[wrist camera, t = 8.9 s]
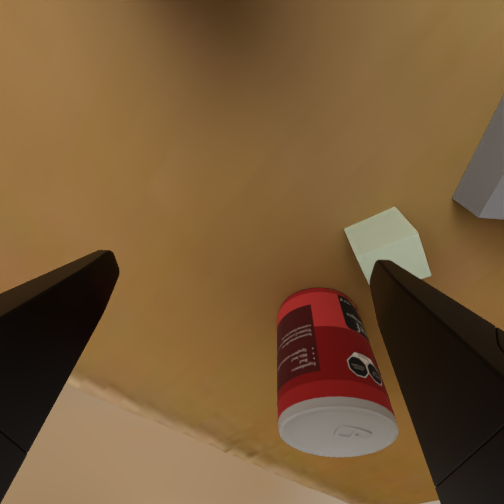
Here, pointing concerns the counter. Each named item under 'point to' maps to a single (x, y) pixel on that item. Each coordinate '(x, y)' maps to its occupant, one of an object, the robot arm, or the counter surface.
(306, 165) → the counter surface
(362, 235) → the sage block
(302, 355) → the canned food
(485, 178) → the grey square block
